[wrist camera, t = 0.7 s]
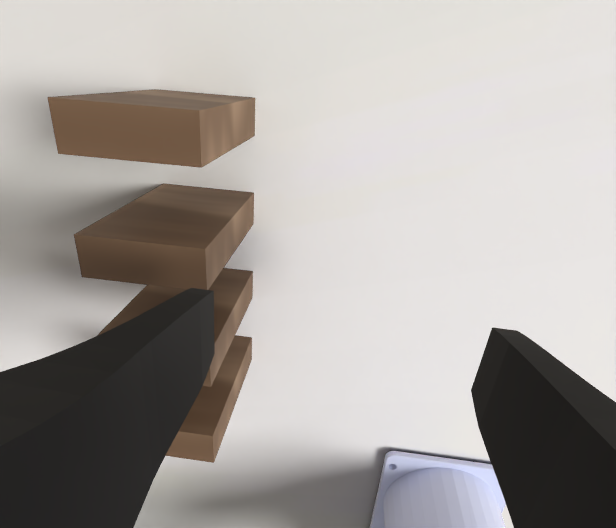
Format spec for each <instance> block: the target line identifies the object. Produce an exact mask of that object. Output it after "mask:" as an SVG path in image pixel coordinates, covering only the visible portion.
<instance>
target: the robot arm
mask: <svg viewBox="0 0 616 528" xmlns="http://www.w3.org/2000/svg"><path fill="white" fill-rule="evenodd" d="M214 354H215V344H214V291H212V290H204V289H197V288H190V289H188V290H185V291H183V292H181V293H179V294H177V295H176V296H174V297H172V298H170V299H168V300H166V301H165V302H163V303H161V304H159V305H157V306H155V307H154V308H152V309H150V310H148V311H146V312H144V313H142V314H140V315H139V316H137V317H135V318H133V319H131V320H129V321H127V322H125V323H123V324H121V325H119V326H117V327H115V328H113V329H111V330H109V331H106V332H104V333H102V334H100V335H98V336H96V337H94V338H92V339H90V340H87V341H85V342H83V343H80V344H78V345H76V346H73V347H71V348H68V349H66V350H63V351H61V352H58V353H55V354H53V355H50V356H48V357H45V358H42V359H39V360H37V361H34V362H31V363H27V364H24V365H21V366H18V367H15V368H12V369H9V370H6V371H3V372H0V528H133V527H134V525H135V522H136V520H137V517H138V515H139V512H140V510H141V508H142V505H143V503H144V501H145V498H146V496H147V493H148V491H149V489H150V486H151V484H152V482H153V479H154V477H155V475H156V473H157V471H158V469H159V467H160V465H161V463H162V461H163V459H164V457H165V455H166V453H167V452H168V450H169V448H170V446H171V444H172V442H173V440H174V439H175V437H176V435H177V433H178V431H179V429H180V428H181V426H182V424H183V422H184V420H185V418H186V416H187V415H188V413H189V411H190V409H191V407H192V405H193V403H194V401H195V400H196V398H197V396H198V394H199V392H200V390H201V388H202V386H203V384H204V381H205V378H206V376H207V373H208V371H209V368H210V365H211V362H212V360H213V357H214ZM471 392H472V397H473V402H474V408H475V412H476V417H477V421H478V426H479V429H480V432H481V435H482V438H483V441H484V444H485V447H486V450H487V452H488V455H489V458H490V461H491V464H485V463H478V462H471V461H464V460H456V459H449V458H442V457H435V456H428V455H421V454H413V453H406V452H399V451H390V452H388V453H386V455H385V460H384V464H383V469H382V473H381V478H380V483H379V487H378V492H377V496H376V501H375V505H374V510H373V514H372V519H371V524H370V528H506V526H505V523H504V520H503V517H502V511H503V509H504V507H505V505H507V508H508V511H509V514H510V516H511V519H512V523H513V526H514V528H616V402H614V401H613V400H612V399H610V398H609V397H607V396H606V395H605V394H603V393H602V392H600V391H599V390H598V389H596V388H595V387H593V386H592V385H591V384H589V383H588V382H587V381H585V380H584V379H583V378H581V377H580V376H579V375H577V374H576V373H575V372H573V371H572V370H571V369H569V368H568V367H567V366H565V365H564V364H563V363H561V362H560V361H559V360H557V359H556V358H555V357H554V356H552V355H551V354H550V353H548V352H547V351H546V350H544V349H543V348H542V347H540V346H539V345H537V344H536V343H535V342H533V341H532V340H531V339H529V338H528V337H526V336H525V335H523V334H521V333H520V332H518V331H515V330H507V329H499V328H492V330H491V333H490V336H489V339H488V342H487V345H486V348H485V351H484V354H483V357H482V360H481V363H480V366H479V369H478V372H477V374H476V377H475V380H474V383H473V386H472V389H471Z"/></svg>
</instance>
